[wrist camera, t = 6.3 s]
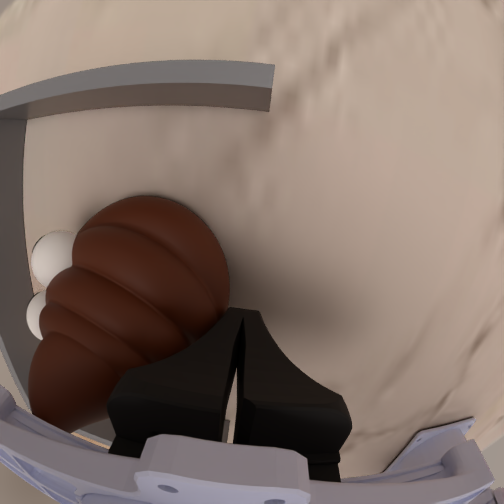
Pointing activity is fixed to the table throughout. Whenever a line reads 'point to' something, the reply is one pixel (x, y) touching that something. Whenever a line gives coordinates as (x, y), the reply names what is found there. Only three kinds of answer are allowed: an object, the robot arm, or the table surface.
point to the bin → (85, 98)
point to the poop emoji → (118, 303)
